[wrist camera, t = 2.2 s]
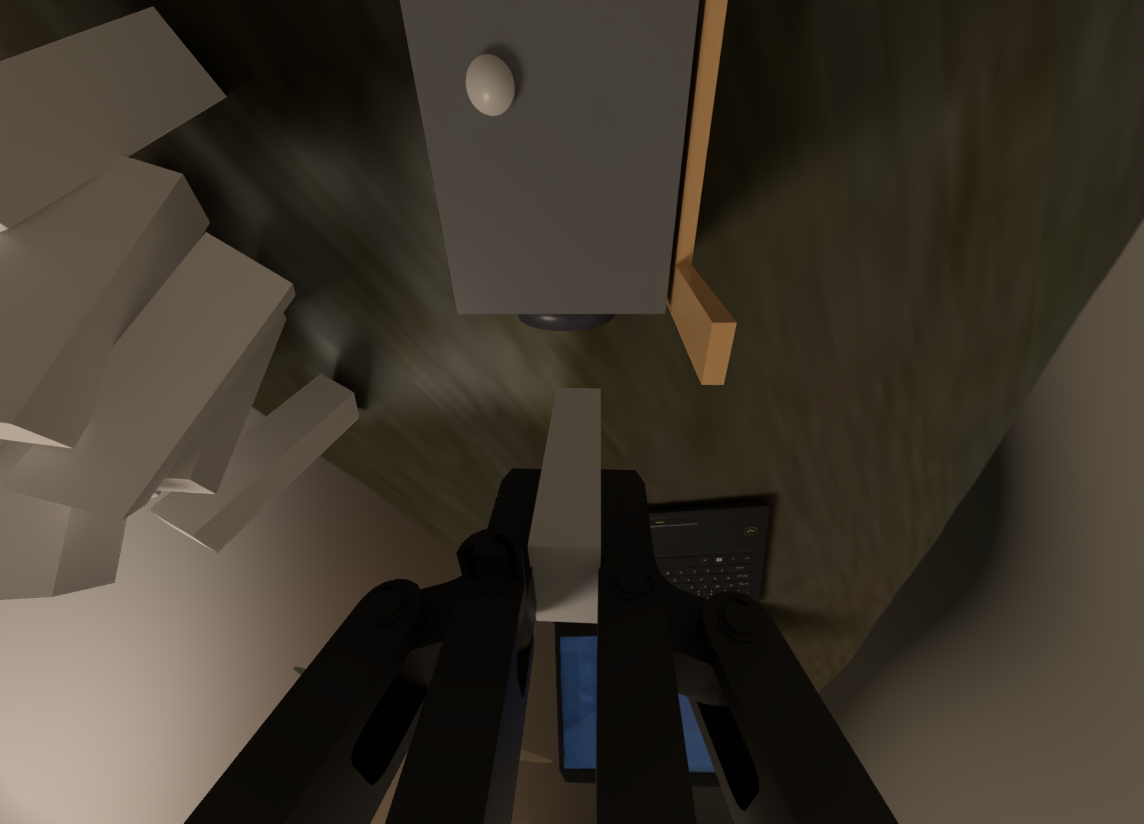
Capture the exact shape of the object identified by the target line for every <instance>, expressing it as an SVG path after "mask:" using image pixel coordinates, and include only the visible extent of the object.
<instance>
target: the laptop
mask: <svg viewBox="0 0 1144 824" xmlns="http://www.w3.org/2000/svg"><path fill="white" fill-rule="evenodd" d="M648 513H649V520H650V527H651V534H652V542H653V549H654V557H655V561H656V565H657V567H658V569H659V571H660V572H661V574H662V575H663V576H664V577H665V578H666V579H667V580H668V581H669V582H670V583H671V584H673V585H674V586H676V587H677V588H680V589H682V590H684V591H686V592H689V593H692V594H695V595H698V596H700V597H703V598H706V599H709V598H710V596H711V595H714V594H716V593H719V592H721V591H735V592H738V593H741V594H744V595H747V596H749V597H750V598H752V599H753V600H755V601H756V602H758V603H759V601H760V591H761V582H762V572H763V565H764V557H765V549H766V542H767V541H766V540H767V531H768V525H769V516H770V505H769V504H768V503H767V502H765V501H757V502H739V503H729V504H725V505H706V506H694V507H681V508H668V509H656V510H648ZM554 623H555V656H556V657H555V658H556V690H557V720H558V749H559V750H558V751H559V771H560V773H561V775H562V776H563V778H564V780H565V782H572V783H595V784H596V696H597V623H578V622H557V621H554ZM678 696H679V703H680V710H681V717H682V724H683V731H684V738H685V745H686V752H687V760H688V767H689V774H690V781H691V787H721V786H720V783H719V780H718V778H717V775H716V772H715V770H714V767H713V764H712V762H711V759H710V756H709V753H708V751H707V748H706V745H705V743H704V740H703V737H702V735H701V732H700V729H699V727H698V724H697V721H696V718H695V716H694V713H693V710H692V708H691V705H690V702H689V700H688V697H686V696H683V695H681V694H679V693H678Z"/></svg>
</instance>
